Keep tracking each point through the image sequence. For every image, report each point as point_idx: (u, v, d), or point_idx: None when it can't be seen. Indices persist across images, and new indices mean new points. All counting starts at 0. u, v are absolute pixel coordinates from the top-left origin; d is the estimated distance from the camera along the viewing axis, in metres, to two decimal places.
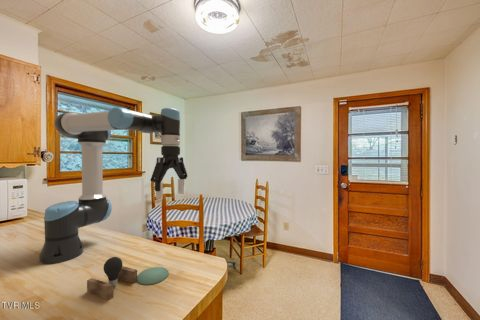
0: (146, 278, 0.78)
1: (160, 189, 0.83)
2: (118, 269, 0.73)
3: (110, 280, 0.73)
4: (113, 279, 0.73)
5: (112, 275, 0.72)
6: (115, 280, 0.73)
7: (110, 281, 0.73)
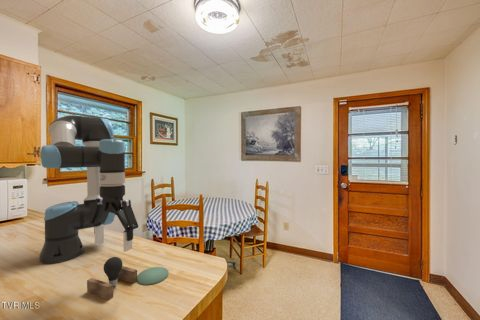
0: (146, 278, 0.78)
1: None
2: (118, 269, 0.73)
3: (110, 280, 0.73)
4: (113, 279, 0.73)
5: (112, 275, 0.72)
6: (115, 280, 0.73)
7: (110, 281, 0.73)
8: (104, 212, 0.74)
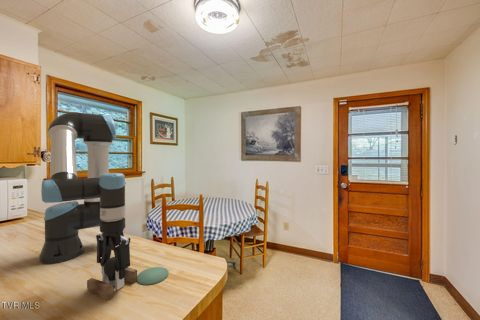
0: (146, 278, 0.78)
1: None
2: None
3: (110, 280, 0.73)
4: (113, 279, 0.73)
5: (112, 275, 0.72)
6: (115, 280, 0.73)
7: (110, 281, 0.73)
8: (107, 247, 0.74)
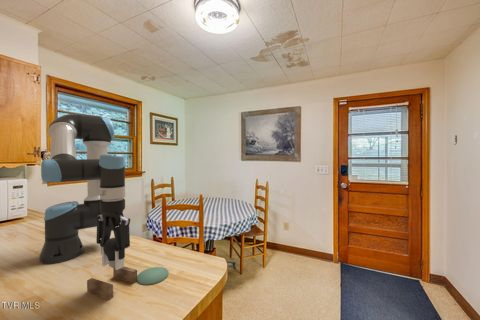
0: (146, 278, 0.78)
1: None
2: None
3: (110, 260, 0.73)
4: (113, 259, 0.73)
5: (112, 255, 0.72)
6: None
7: (110, 261, 0.73)
8: (107, 228, 0.74)
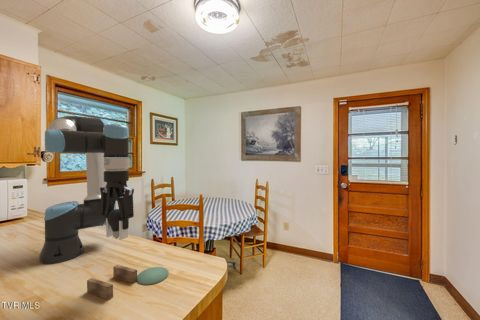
0: (146, 278, 0.78)
1: None
2: None
3: (114, 231, 0.73)
4: (117, 230, 0.73)
5: (116, 225, 0.72)
6: None
7: (114, 232, 0.73)
8: (111, 199, 0.74)
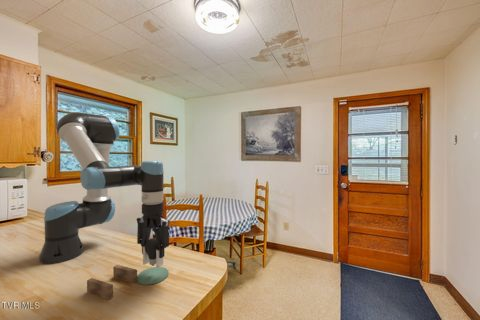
0: (146, 278, 0.78)
1: None
2: None
3: (151, 259, 0.79)
4: (153, 258, 0.79)
5: (153, 254, 0.78)
6: (155, 259, 0.80)
7: (151, 260, 0.79)
8: (147, 229, 0.80)
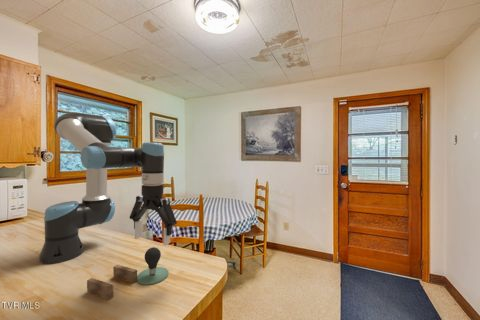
0: (146, 278, 0.78)
1: (135, 228, 0.82)
2: (158, 258, 0.79)
3: (150, 268, 0.79)
4: (153, 267, 0.79)
5: (152, 264, 0.78)
6: (155, 268, 0.80)
7: (150, 269, 0.79)
8: (144, 209, 0.80)
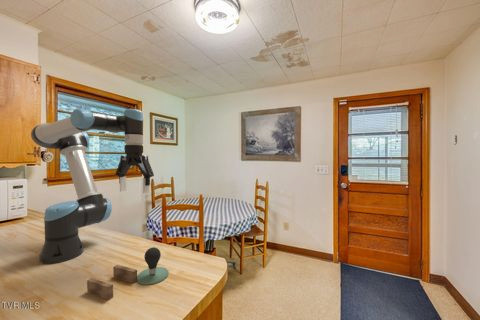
0: (146, 278, 0.78)
1: None
2: (158, 258, 0.79)
3: (150, 268, 0.79)
4: (153, 267, 0.79)
5: (152, 264, 0.78)
6: (155, 268, 0.80)
7: (150, 269, 0.79)
8: (127, 165, 0.97)
